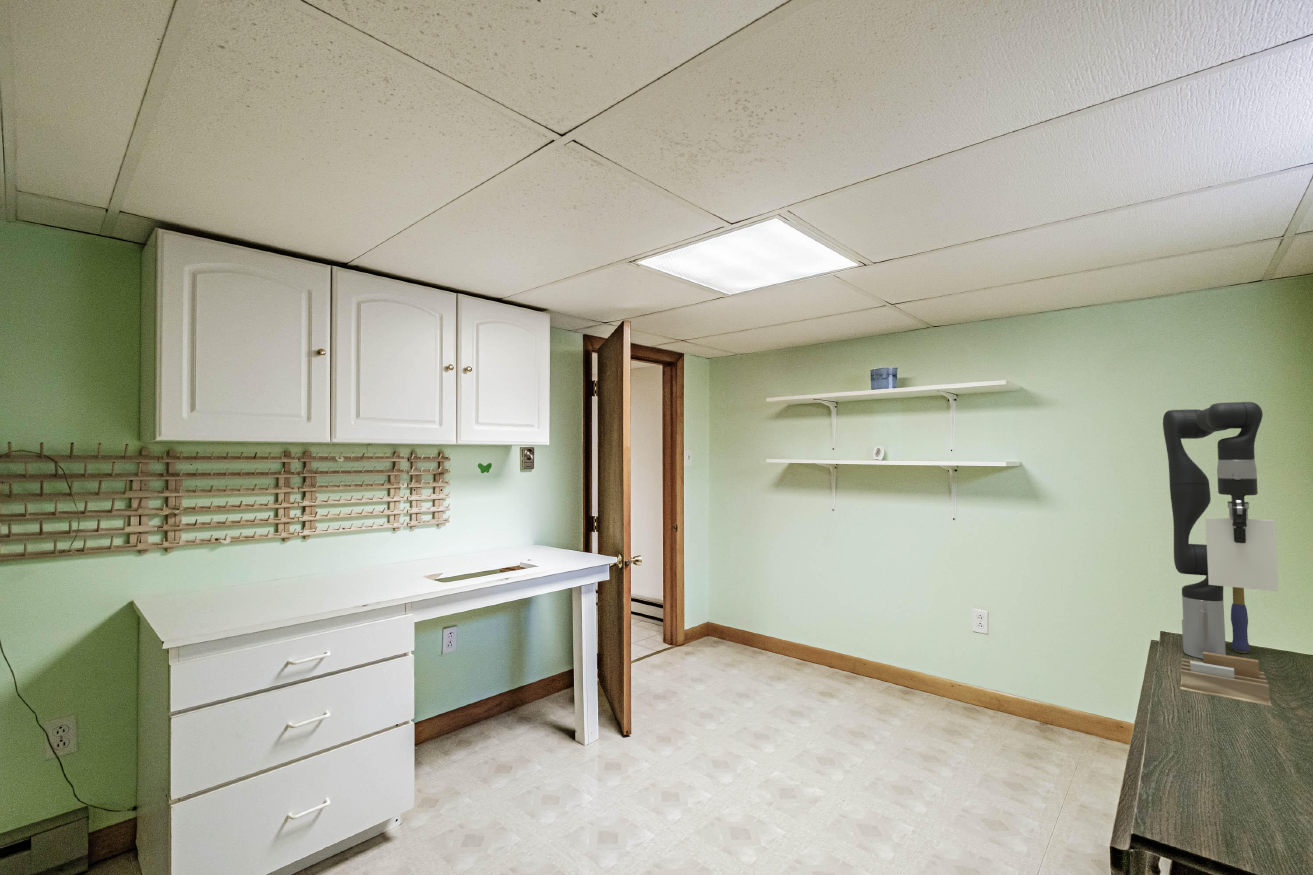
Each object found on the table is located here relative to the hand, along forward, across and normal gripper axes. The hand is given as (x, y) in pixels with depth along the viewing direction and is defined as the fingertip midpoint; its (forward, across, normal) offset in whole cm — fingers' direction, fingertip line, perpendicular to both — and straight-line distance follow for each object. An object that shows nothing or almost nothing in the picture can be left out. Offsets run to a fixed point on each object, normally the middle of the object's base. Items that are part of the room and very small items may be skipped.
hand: (1239, 542), depth 157 cm
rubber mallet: (+37, -35, +1) cm, 51 cm away
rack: (+37, +12, -5) cm, 39 cm away
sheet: (+12, 0, 0) cm, 12 cm away
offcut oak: (+36, +12, -3) cm, 38 cm away
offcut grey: (+36, +16, -7) cm, 40 cm away
